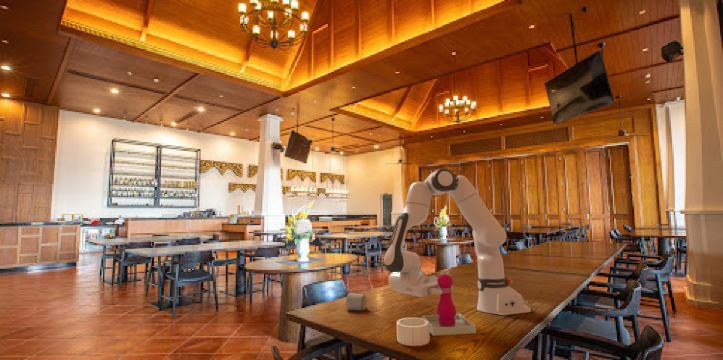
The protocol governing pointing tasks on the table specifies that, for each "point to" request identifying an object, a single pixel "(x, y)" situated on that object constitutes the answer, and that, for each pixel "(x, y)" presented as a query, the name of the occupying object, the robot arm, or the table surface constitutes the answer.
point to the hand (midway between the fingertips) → (447, 290)
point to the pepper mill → (446, 301)
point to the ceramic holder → (413, 331)
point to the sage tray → (459, 328)
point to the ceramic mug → (356, 302)
